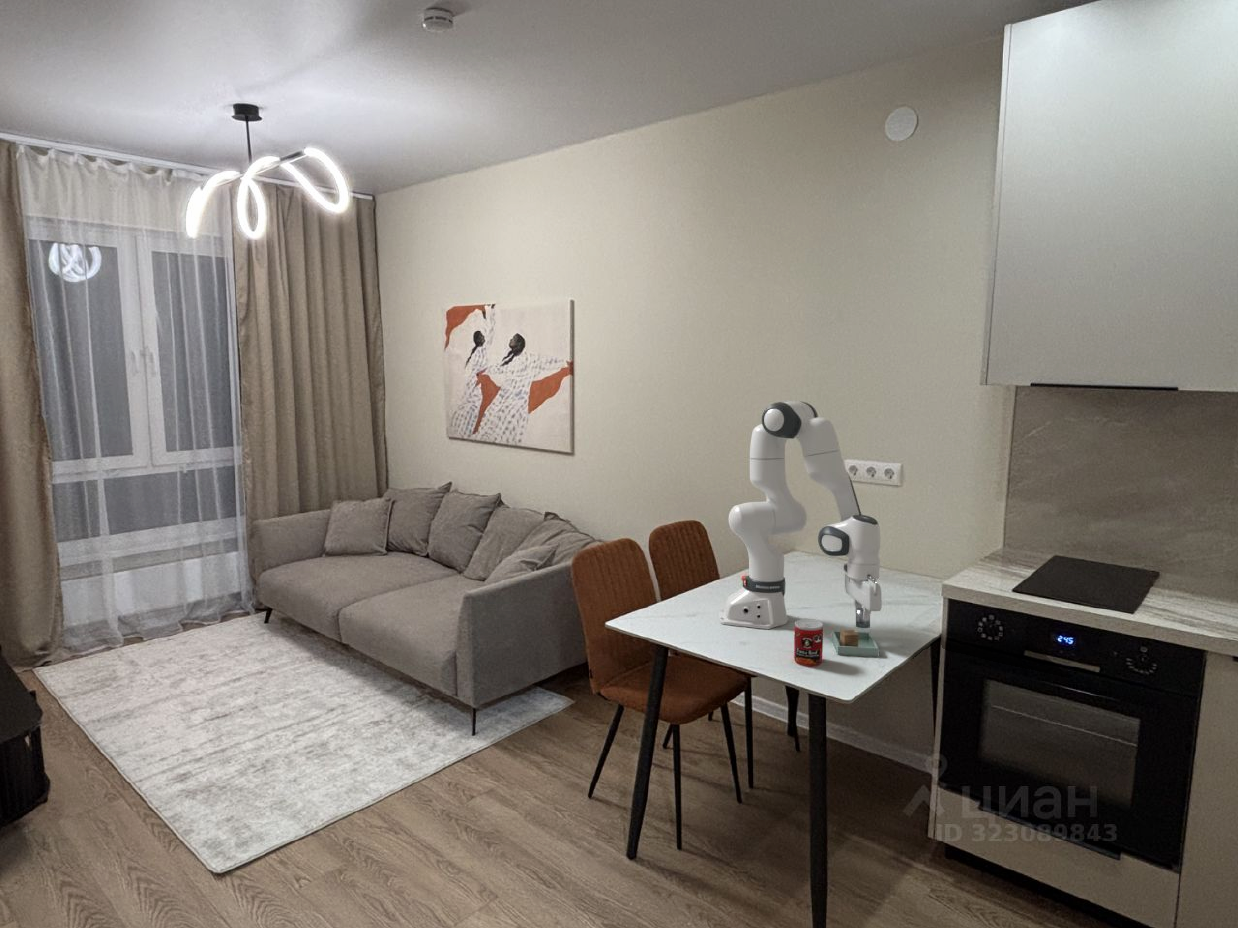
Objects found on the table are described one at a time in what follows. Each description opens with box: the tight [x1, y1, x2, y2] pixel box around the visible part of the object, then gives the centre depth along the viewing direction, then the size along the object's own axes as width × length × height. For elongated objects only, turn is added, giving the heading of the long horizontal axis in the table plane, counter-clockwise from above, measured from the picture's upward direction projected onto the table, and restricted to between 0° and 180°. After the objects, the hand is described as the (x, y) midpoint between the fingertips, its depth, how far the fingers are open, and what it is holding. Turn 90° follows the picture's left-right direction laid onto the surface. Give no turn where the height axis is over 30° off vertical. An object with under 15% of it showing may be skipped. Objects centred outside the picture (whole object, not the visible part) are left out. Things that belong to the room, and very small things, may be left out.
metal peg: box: [855, 607, 871, 629], centre depth 221 cm, size 4×4×5 cm
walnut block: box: [839, 629, 859, 647], centre depth 217 cm, size 4×4×5 cm
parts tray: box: [830, 630, 880, 658], centre depth 220 cm, size 11×13×2 cm
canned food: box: [793, 618, 824, 667], centre depth 209 cm, size 8×8×11 cm
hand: (862, 617), depth 221 cm, fingers closed on metal peg, 4 cm apart
